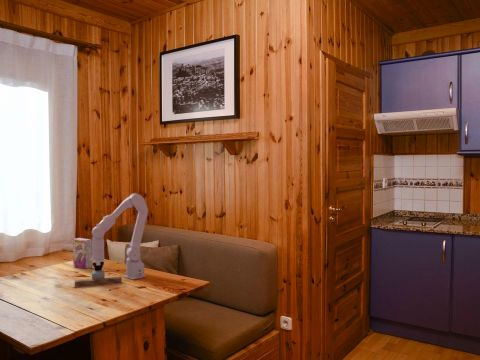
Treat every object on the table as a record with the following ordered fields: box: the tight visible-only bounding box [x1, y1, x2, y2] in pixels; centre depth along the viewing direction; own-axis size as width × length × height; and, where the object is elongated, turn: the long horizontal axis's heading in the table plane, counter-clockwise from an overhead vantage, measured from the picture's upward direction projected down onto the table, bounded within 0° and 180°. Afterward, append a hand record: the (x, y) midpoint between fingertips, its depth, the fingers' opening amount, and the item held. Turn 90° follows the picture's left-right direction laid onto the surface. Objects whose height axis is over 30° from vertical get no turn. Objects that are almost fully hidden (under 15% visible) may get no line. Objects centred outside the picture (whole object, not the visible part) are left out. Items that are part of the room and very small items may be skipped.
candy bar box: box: [72, 237, 93, 270], centre depth 246 cm, size 11×5×16 cm, turn 58°
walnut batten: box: [74, 276, 123, 288], centre depth 211 cm, size 22×3×2 cm, turn 108°
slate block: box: [91, 269, 106, 279], centre depth 215 cm, size 6×6×5 cm
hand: (98, 276), depth 219 cm, fingers closed
